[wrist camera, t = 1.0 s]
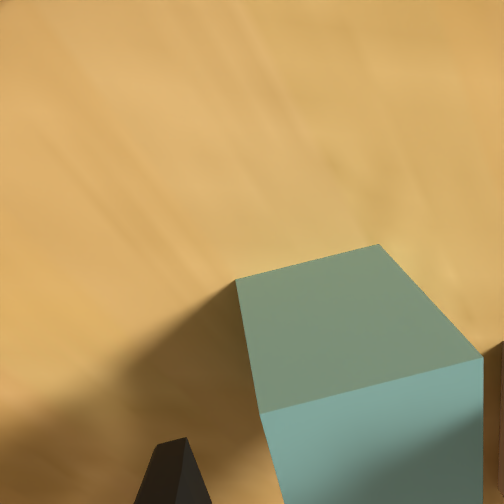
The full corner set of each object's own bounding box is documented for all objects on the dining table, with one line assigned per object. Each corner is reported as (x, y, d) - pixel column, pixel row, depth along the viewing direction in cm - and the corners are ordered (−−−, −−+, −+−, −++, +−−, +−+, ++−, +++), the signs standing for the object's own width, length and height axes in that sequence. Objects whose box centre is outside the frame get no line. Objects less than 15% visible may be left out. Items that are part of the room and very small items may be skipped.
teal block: (377, 243, 12) (482, 357, 8) (390, 358, 14) (483, 505, 10) (235, 279, 12) (259, 414, 8) (265, 389, 14) (298, 553, 10)
